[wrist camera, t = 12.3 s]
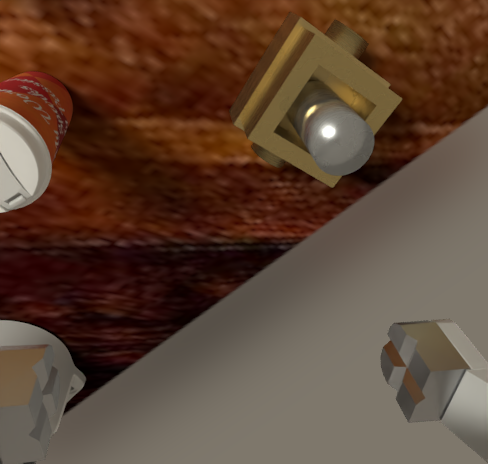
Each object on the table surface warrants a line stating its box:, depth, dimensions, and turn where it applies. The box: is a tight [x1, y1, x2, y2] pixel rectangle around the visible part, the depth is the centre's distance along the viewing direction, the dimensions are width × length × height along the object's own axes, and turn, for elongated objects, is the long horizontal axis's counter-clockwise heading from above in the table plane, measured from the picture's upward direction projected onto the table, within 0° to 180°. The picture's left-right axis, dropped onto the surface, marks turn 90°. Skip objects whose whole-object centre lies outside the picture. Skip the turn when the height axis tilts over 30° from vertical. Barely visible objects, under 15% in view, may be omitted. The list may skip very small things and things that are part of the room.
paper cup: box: [0, 71, 73, 213], centre depth 33 cm, size 8×8×14 cm
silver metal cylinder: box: [287, 81, 374, 176], centre depth 34 cm, size 4×4×9 cm
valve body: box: [229, 12, 402, 188], centre depth 38 cm, size 13×10×8 cm
